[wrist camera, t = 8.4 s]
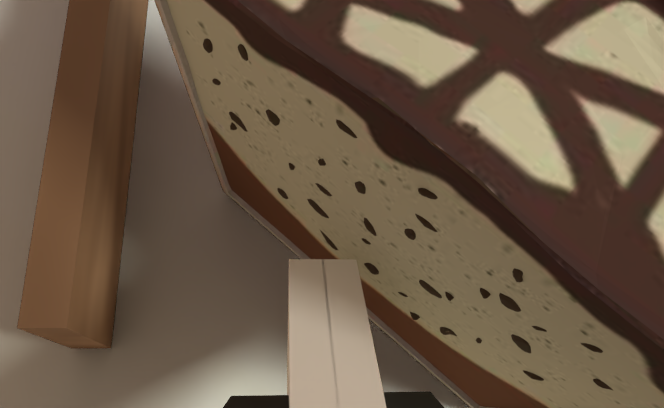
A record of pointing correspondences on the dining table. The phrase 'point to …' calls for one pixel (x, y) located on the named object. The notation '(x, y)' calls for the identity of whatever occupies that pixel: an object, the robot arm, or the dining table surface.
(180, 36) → the food container
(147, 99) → the dining table surface
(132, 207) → the dining table surface
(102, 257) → the caddy
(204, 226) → the dining table surface
